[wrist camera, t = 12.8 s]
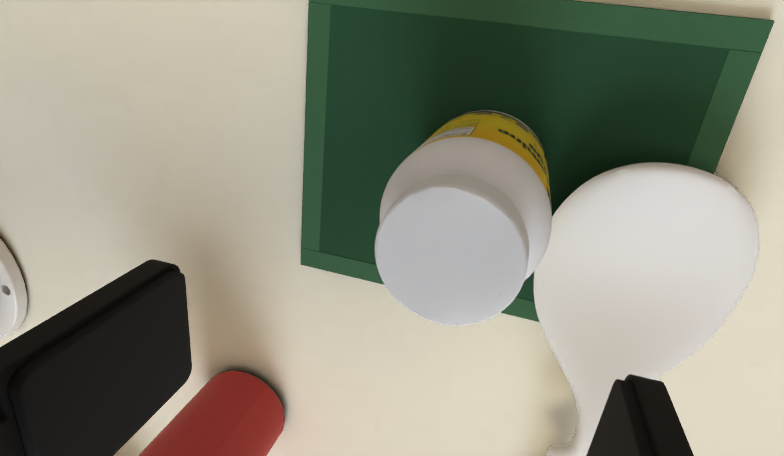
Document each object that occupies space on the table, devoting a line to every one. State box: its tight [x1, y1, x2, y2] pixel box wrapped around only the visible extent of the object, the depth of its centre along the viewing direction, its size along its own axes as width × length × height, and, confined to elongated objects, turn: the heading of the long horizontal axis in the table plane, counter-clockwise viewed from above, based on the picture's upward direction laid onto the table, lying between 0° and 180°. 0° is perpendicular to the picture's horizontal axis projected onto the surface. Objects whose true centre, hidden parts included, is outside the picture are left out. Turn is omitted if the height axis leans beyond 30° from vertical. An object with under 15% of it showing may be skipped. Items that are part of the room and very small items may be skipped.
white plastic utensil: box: [534, 162, 759, 456], centre depth 26 cm, size 9×32×4 cm, turn 174°
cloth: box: [301, 0, 774, 322], centre depth 24 cm, size 20×16×1 cm
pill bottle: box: [375, 110, 552, 326], centre depth 19 cm, size 6×6×11 cm
